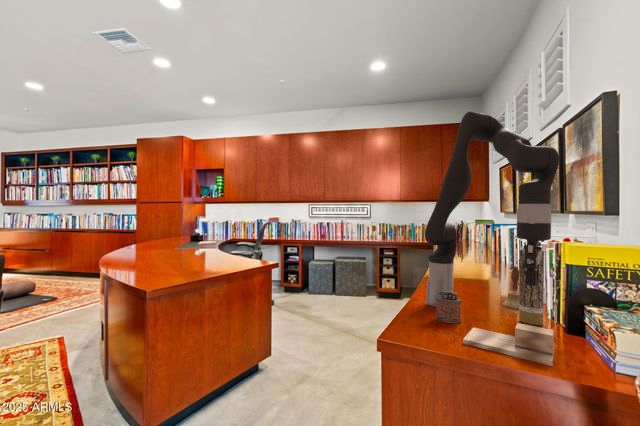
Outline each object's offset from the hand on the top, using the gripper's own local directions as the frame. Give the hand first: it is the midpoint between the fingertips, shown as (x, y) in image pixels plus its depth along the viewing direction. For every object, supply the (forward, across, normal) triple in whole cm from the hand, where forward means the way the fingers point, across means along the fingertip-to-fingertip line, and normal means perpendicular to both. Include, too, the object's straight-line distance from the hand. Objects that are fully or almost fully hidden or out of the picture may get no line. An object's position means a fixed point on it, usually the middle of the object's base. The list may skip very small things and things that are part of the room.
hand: (532, 282), depth 82 cm
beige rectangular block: (+17, 0, +1) cm, 17 cm away
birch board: (+18, 0, -5) cm, 19 cm away
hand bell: (+19, -46, -9) cm, 51 cm away
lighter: (+19, -10, -24) cm, 32 cm away
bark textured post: (+19, -28, -2) cm, 33 cm away
